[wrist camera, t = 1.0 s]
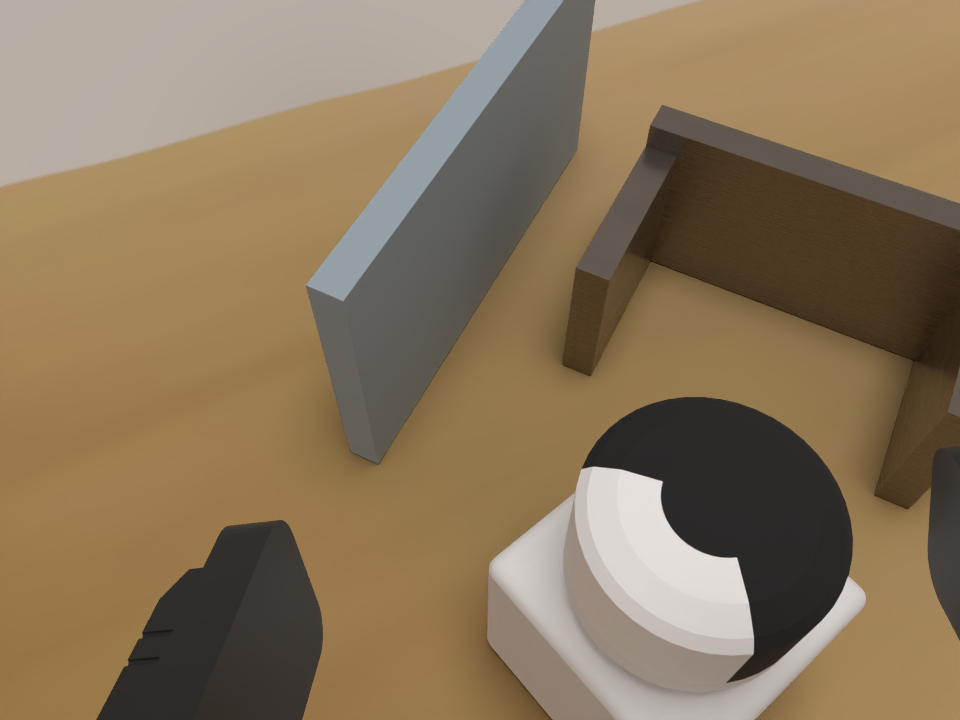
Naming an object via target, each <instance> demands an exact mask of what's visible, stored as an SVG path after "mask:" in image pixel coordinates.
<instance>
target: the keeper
mask: <svg viewBox="0 0 960 720" xmlns="http://www.w3.org/2000/svg"><path fill="white" fill-rule="evenodd" d="M650 261H653V262H656V263H658V264H661V265H663V266H666V267H669V268H671V269H674V270H677V271H679V272H682V273H685V274H687V275H690V276H693V277H695V278H698V279H700V280H703V281H706V282H708V283H711V284H714V285H716V286H719V287H722V288H724V289H727V290H730V291H732V292H735V293H737V294H740V295H743V296H745V297H748V298H751V299H753V300H756V301H759V302H761V303H764V304H767V305H769V306H772V307H774V308H777V309H780V310H782V311H785V312H788V313H790V314H793V315H796V316H798V317H801V318H804V319H806V320H809V321H811V322H814V323H817V324H819V325H822V326H825V327H827V328H830V329H833V330H835V331H838V332H841V333H843V334H846V335H848V336H851V337H854V338H856V339H859V340H862V341H864V342H867V343H870V344H872V345H875V346H878V347H880V348H883V349H885V350H888V351H891V352H893V353H896V354H899V355H901V356H904V357H907V358H909V359H912V360H914V363H913V366H912V370H911V373H910V376H909V380H908V383H907V387H906V390H905V393H904V397H903V400H902V404H901V407H900V410H899V414H898V417H897V420H896V424H895V427H894V431H893V434H892V437H891V441H890V444H889V447H888V451H887V454H886V458H885V461H884V464H883V468H882V471H881V474H880V478H879V481H878V485H877V488H876V491H875V495H876V496H878V497H881V498H883V499H886V500H888V501H890V502H893V503H895V504H897V505H900V506H902V507H905V508H907V509H909V508H910V507H911V506H912V505H913V504H914V503H915V502H916V501H917V500H918V499H919V498H920V497H921V496H922V495H923V494H924V493H925V492H926V491H927V490H928V489H929V488H930V487H931V482H932V466H933V458H934V455H935V452H936V451H937V450H938V449H939V448H946V447H955V446H960V204H959V203H956V202H953V201H950V200H947V199H944V198H941V197H938V196H935V195H932V194H929V193H926V192H923V191H920V190H917V189H914V188H911V187H908V186H905V185H902V184H899V183H896V182H893V181H890V180H887V179H884V178H881V177H878V176H875V175H872V174H869V173H866V172H863V171H860V170H857V169H854V168H851V167H848V166H845V165H842V164H839V163H836V162H833V161H830V160H827V159H824V158H821V157H818V156H814V155H811V154H808V153H805V152H802V151H799V150H796V149H793V148H790V147H787V146H784V145H781V144H778V143H775V142H772V141H769V140H766V139H763V138H760V137H757V136H754V135H751V134H748V133H745V132H742V131H739V130H736V129H733V128H730V127H727V126H724V125H721V124H718V123H715V122H712V121H709V120H706V119H703V118H700V117H697V116H694V115H691V114H688V113H685V112H682V111H679V110H676V109H673V108H670V107H667V106H664V105H662V106H661V108H660V110H659V111H658V113H657V115H656V117H655V118H654V120H653V122H652V123H651V125H650V129H649V134H648V139H647V144H646V147H645V149H644V150H643V152H642V154H641V156H640V157H639V159H638V161H637V163H636V164H635V166H634V168H633V170H632V171H631V173H630V175H629V177H628V178H627V180H626V182H625V184H624V185H623V187H622V189H621V191H620V192H619V194H618V196H617V197H616V199H615V201H614V203H613V204H612V206H611V208H610V210H609V211H608V213H607V215H606V217H605V218H604V220H603V222H602V224H601V225H600V227H599V229H598V231H597V232H596V234H595V236H594V238H593V239H592V241H591V243H590V245H589V246H588V248H587V250H586V251H585V253H584V255H583V257H582V258H581V260H580V262H579V264H578V265H577V267H576V272H575V279H574V286H573V293H572V300H571V307H570V314H569V321H568V328H567V335H566V342H565V349H564V356H563V363H562V364H563V365H566V366H568V367H571V368H573V369H575V370H578V371H580V372H582V373H585V374H587V375H590V376H591V374H592V372H593V371H594V369H595V367H596V365H597V363H598V361H599V359H600V357H601V355H602V353H603V351H604V349H605V347H606V346H607V344H608V342H609V340H610V338H611V336H612V334H613V332H614V330H615V328H616V326H617V324H618V322H619V321H620V319H621V317H622V315H623V313H624V311H625V309H626V307H627V305H628V303H629V301H630V299H631V297H632V296H633V294H634V292H635V290H636V288H637V286H638V284H639V282H640V280H641V278H642V276H643V274H644V272H645V271H646V269H647V267H648V265H649V263H650Z"/></svg>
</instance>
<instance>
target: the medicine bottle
mask: <svg viewBox="0 0 960 720" xmlns="http://www.w3.org/2000/svg"><path fill="white" fill-rule="evenodd" d="M852 546H853V536H852V529H851V521H850V517H849V513H848V509H847V506H846V502H845V500H844V497H843V495H842V493H841V490H840V488H839V486H838V484H837V482H836V480H835V479H834V477H833V475H832V474H831V472H830V470H829V469H828V467H827V466H826V465H825V463H824V462H823V461H822V460H821V458H820V457H819V456H818V454H817V453H816V452H815V451H814V450H813V449H812V448H811V447H810V446H809V445H808V444H807V443H806V442H805V441H804V440H803V439H802V438H800V437H799V436H798V435H797V434H796V433H794V432H793V431H792V430H791V429H789V428H788V427H786V426H785V425H783V424H782V423H780V422H778V421H777V420H775V419H774V418H772V417H770V416H768V415H766V414H764V413H762V412H760V411H758V410H755V409H753V408H750V407H747V406H744V405H742V404H739V403H734V402H730V401H726V400H722V399H714V398H706V397H683V398H675V399H668V400H664V401H660V402H656V403H652V404H650V405H647V406H645V407H642V408H640V409H637V410H635V411H634V412H632V413H630V414H628V415H627V416H625V417H623V418H622V419H620V420H619V421H618V422H617V423H615V424H614V425H613V426H611V427H610V428H609V429H608V430H607V431H606V432H605V433H604V434H603V435H602V436H601V438H600V439H599V440H598V441H597V442H596V444H595V445H594V447H593V448H592V450H591V451H590V453H589V454H588V456H587V459H586V461H585V463H584V465H583V467H582V469H581V473H580V476H579V480H578V483H577V487H576V492H575V493H573V494H572V495H571V496H570V497H569V498H567V499H566V500H565V501H564V502H562V503H561V504H560V505H559V506H557V507H556V508H555V509H554V510H553V511H551V512H550V513H549V514H548V515H546V516H545V517H544V518H543V519H541V520H540V521H539V522H538V523H537V524H535V525H534V526H533V527H532V528H530V529H529V530H528V531H527V532H526V533H524V534H523V535H522V536H521V537H519V538H518V539H517V540H516V541H514V542H513V543H512V544H511V545H510V546H508V547H507V548H506V549H505V550H503V551H502V552H501V553H500V554H498V555H497V556H496V557H495V558H494V559H493V560H492V561H491V563H490V564H489V579H488V625H487V640H488V642H489V644H490V646H491V647H492V648H493V649H494V650H495V652H496V653H497V654H498V655H499V656H500V658H501V659H502V660H503V661H504V662H505V664H506V665H507V666H508V667H509V668H510V670H511V671H512V672H513V673H514V674H515V676H516V677H517V678H518V679H519V680H520V682H521V683H522V684H523V685H524V686H525V687H526V689H527V690H528V691H529V692H530V693H531V695H532V696H533V697H534V698H535V699H536V701H537V702H538V703H539V704H540V705H541V707H542V708H543V709H544V710H545V711H546V713H547V714H548V715H549V716H550V717H551V719H552V720H756V718H757V717H758V716H759V715H760V714H761V713H762V712H763V711H764V710H765V709H766V708H767V707H768V706H769V705H770V704H771V703H772V702H773V701H774V700H775V699H776V698H777V697H778V696H779V695H780V694H781V693H782V692H783V691H784V690H785V689H786V688H787V686H788V685H789V684H790V683H791V682H792V681H793V680H794V679H795V678H796V677H797V676H798V675H799V674H800V673H801V672H802V671H803V670H804V669H805V668H806V667H807V666H808V665H809V664H810V663H811V662H812V661H813V660H814V659H815V658H816V657H817V655H818V654H819V653H820V652H821V651H822V650H823V649H824V648H825V647H826V646H827V645H828V644H829V643H830V642H831V641H832V640H833V639H834V638H835V637H836V636H837V635H838V634H839V633H840V632H841V631H842V630H843V629H844V628H845V627H846V626H847V625H848V623H849V622H850V621H851V620H852V619H853V618H854V617H855V616H856V615H857V614H858V613H859V612H860V611H861V610H862V609H863V607H864V605H865V603H866V596H865V593H864V591H863V590H862V588H861V587H860V586H859V585H858V584H856V583H855V582H854V581H853V580H852V579H851V578H850V577H849V576H848V575H849V571H850V565H851V560H852Z"/></svg>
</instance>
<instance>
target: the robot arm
mask: <svg viewBox="0 0 960 720" xmlns="http://www.w3.org/2000/svg"><path fill="white" fill-rule="evenodd" d="M928 561H929V568H930V574H931V578H932V582H933V585H934V589H935V592H936V594H937V597H938V599H939V601H940V604H941V606H942V608H943V609H944V611H945V613H946V615H947V617H948V619H949V621H950V623H951V625H952V626H953V628H954V630H955V632H956V634H957V636H958V638H959V640H960V446H955V447H946V448H939V449H938V450H937V451H936V452H935V455H934V458H933V466H932V482H931V499H930V517H929V534H928ZM142 633H143V638H142V639H139V640H138V641H137V643H136V645H135V647H134V649H133V651H132V653H131V655H130V657H129V659H128V661H129V664H128V666H126V667H124V668H123V670H122V672H121V674H120V676H119V678H118V680H117V681H116V683H115V685H114V687H113V689H112V691H111V693H110V695H109V697H108V699H107V701H106V702H105V704H104V706H103V708H102V710H101V712H100V714H99V716H98V718H97V720H302V718H303V715H304V711H305V708H306V704H307V701H308V697H309V694H310V690H311V687H312V683H313V680H314V676H315V673H316V669H317V666H318V662H319V659H320V655H321V650H322V641H323V626H322V617H321V612H320V607H319V604H318V601H317V599H316V596H315V593H314V590H313V588H312V585H311V582H310V579H309V577H308V574H307V571H306V569H305V566H304V563H303V560H302V558H301V555H300V552H299V549H298V547H297V544H296V541H295V539H294V536H293V533H292V531H291V529H290V527H289V525H288V524H287V523H286V522H285V521H282V520H277V521H268V522H259V523H250V524H242V525H233V526H227V527H225V528H224V529H223V530H222V531H221V533H220V534H219V536H218V538H217V540H216V543H215V545H214V547H213V549H212V551H211V553H210V555H209V557H208V559H207V561H206V563H205V565H204V567H203V568H197V569H189V570H188V571H187V572H186V573H185V574H184V575H183V576H182V577H181V578H180V579H179V580H178V581H177V582H176V583H175V584H174V585H173V586H172V587H171V588H170V589H169V590H168V591H167V592H166V593H165V594H164V595H163V596H162V597H161V598H160V600H159V601H158V603H157V605H156V607H155V609H154V611H153V613H152V615H151V617H150V619H149V620H148V622H147V624H146V626H145V628H144V630H143V632H142Z"/></svg>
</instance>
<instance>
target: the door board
mask: <svg viewBox="0 0 960 720" xmlns="http://www.w3.org/2000/svg"><path fill="white" fill-rule="evenodd" d="M594 5H595V0H525V1H524V2H523V4H522V5H521V6H520V8H519V9H518V10H517V12H516V13H515V14H514V15H513V17H512V18H511V19H510V21H509V22H508V23H507V25H506V26H505V27H504V28H503V30H502V31H501V33H500V34H499V35H498V36H497V38H496V39H495V40H494V41H493V43H492V44H491V45H490V47H489V48H488V49H487V50H486V52H485V53H484V54H483V56H482V57H481V58H480V60H479V61H478V62H477V63H476V65H475V66H474V67H473V69H472V70H471V71H470V73H469V74H468V75H467V76H466V78H465V79H464V80H463V82H462V83H461V84H460V86H459V87H458V88H457V89H456V91H455V92H454V93H453V95H452V96H451V97H450V99H449V100H448V101H447V102H446V104H445V105H444V106H443V108H442V109H441V110H440V112H439V113H438V114H437V115H436V117H435V118H434V119H433V121H432V122H431V123H430V125H429V126H428V127H427V128H426V130H425V131H424V132H423V134H422V135H421V136H420V138H419V139H418V140H417V141H416V143H415V144H414V145H413V147H412V148H411V149H410V151H409V152H408V153H407V154H406V156H405V157H404V158H403V160H402V161H401V162H400V164H399V165H398V166H397V167H396V169H395V170H394V171H393V173H392V174H391V175H390V177H389V178H388V179H387V180H386V182H385V183H384V184H383V186H382V187H381V188H380V190H379V191H378V192H377V193H376V195H375V196H374V197H373V199H372V200H371V201H370V203H369V204H368V205H367V206H366V208H365V209H364V210H363V212H362V213H361V214H360V215H359V217H358V218H357V219H356V221H355V222H354V223H353V225H352V226H351V227H350V228H349V230H348V231H347V232H346V234H345V235H344V236H343V238H342V239H341V240H340V241H339V243H338V244H337V245H336V247H335V248H334V249H333V251H332V252H331V253H330V254H329V256H328V257H327V258H326V260H325V261H324V262H323V264H322V265H321V266H320V267H319V269H318V270H317V271H316V273H315V274H314V275H313V277H312V278H311V279H310V280H309V282H308V283H307V284H306V288H307V291H308V295H309V299H310V303H311V306H312V310H313V314H314V318H315V321H316V325H317V329H318V333H319V336H320V340H321V344H322V348H323V351H324V355H325V359H326V363H327V366H328V370H329V374H330V378H331V381H332V385H333V389H334V393H335V396H336V400H337V404H338V408H339V411H340V415H341V419H342V422H343V426H344V430H345V434H346V437H347V441H348V445H349V449H350V451H351V452H353V453H355V454H357V455H359V456H362V457H364V458H366V459H368V460H370V461H372V462H374V463H376V464H379V463H380V461H381V459H382V458H383V456H384V455H385V453H386V452H387V450H388V448H389V447H390V445H391V444H392V442H393V440H394V439H395V437H396V436H397V434H398V432H399V431H400V429H401V428H402V426H403V425H404V423H405V421H406V420H407V418H408V417H409V415H410V413H411V412H412V410H413V409H414V407H415V406H416V404H417V402H418V401H419V399H420V398H421V396H422V394H423V393H424V391H425V390H426V388H427V386H428V385H429V383H430V382H431V380H432V379H433V377H434V375H435V374H436V372H437V371H438V369H439V367H440V366H441V364H442V363H443V361H444V360H445V358H446V356H447V355H448V353H449V352H450V350H451V348H452V347H453V345H454V344H455V342H456V340H457V339H458V337H459V336H460V334H461V333H462V331H463V329H464V328H465V326H466V325H467V323H468V321H469V320H470V318H471V317H472V315H473V313H474V312H475V310H476V309H477V307H478V306H479V304H480V302H481V301H482V299H483V298H484V296H485V294H486V293H487V291H488V290H489V288H490V287H491V285H492V283H493V282H494V280H495V279H496V277H497V275H498V274H499V272H500V271H501V269H502V267H503V266H504V264H505V263H506V261H507V260H508V258H509V256H510V255H511V253H512V252H513V250H514V248H515V247H516V245H517V244H518V242H519V241H520V239H521V237H522V236H523V234H524V233H525V231H526V229H527V228H528V226H529V225H530V223H531V221H532V220H533V218H534V217H535V215H536V214H537V212H538V210H539V209H540V207H541V206H542V204H543V202H544V201H545V199H546V198H547V196H548V194H549V193H550V191H551V190H552V188H553V187H554V185H555V183H556V182H557V180H558V179H559V177H560V175H561V174H562V172H563V171H564V169H565V168H566V166H567V164H568V163H569V161H570V160H571V158H572V156H573V155H574V153H575V152H576V150H577V145H578V136H579V128H580V120H581V112H582V104H583V96H584V87H585V79H586V71H587V63H588V55H589V47H590V38H591V30H592V22H593V14H594Z"/></svg>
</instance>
